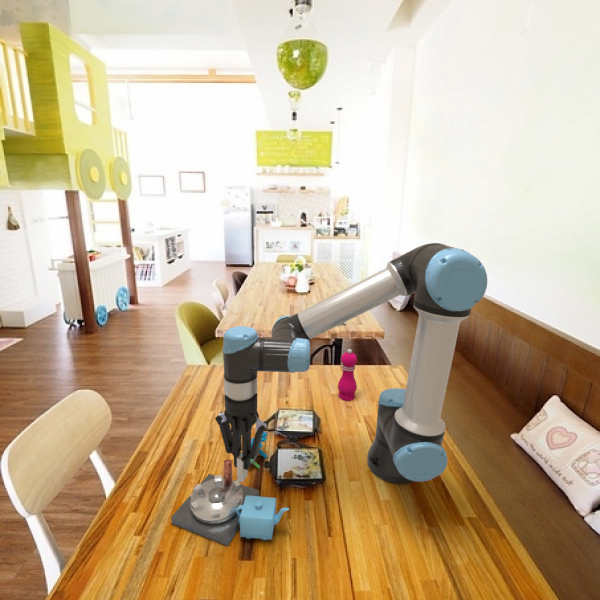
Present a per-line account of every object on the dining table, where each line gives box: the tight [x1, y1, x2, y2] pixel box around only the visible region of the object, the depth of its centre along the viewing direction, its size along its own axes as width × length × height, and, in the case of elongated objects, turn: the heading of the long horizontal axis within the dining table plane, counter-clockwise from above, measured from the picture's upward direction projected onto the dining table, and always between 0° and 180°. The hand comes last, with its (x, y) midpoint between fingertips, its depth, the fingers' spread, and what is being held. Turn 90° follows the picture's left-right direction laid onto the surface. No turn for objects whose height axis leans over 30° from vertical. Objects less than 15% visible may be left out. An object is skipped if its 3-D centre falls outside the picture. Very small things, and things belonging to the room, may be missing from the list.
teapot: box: [236, 495, 290, 541], centre depth 84 cm, size 12×6×8 cm, turn 86°
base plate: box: [170, 473, 260, 547], centre depth 89 cm, size 15×15×2 cm
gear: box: [250, 431, 268, 469], centre depth 107 cm, size 11×6×10 cm
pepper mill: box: [337, 348, 358, 402], centre depth 140 cm, size 7×7×20 cm
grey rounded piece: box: [190, 459, 243, 524], centre depth 88 cm, size 12×12×8 cm
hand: (242, 477), depth 91 cm, fingers closed
